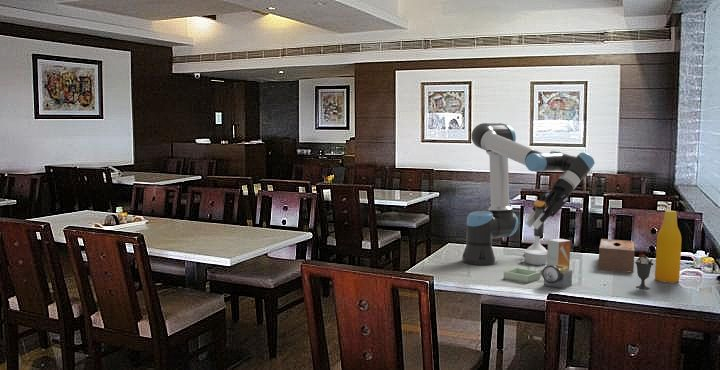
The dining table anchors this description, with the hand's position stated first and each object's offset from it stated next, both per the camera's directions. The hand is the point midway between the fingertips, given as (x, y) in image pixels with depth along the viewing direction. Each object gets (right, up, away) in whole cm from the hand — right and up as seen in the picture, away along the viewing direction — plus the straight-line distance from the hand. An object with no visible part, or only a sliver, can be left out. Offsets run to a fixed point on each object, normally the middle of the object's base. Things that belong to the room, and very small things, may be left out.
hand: (531, 225), depth 251 cm
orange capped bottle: (+3, -4, +2) cm, 6 cm away
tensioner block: (+9, -24, -3) cm, 25 cm away
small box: (+20, -21, +28) cm, 40 cm away
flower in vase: (+17, -19, +55) cm, 61 cm away
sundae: (+43, -24, -5) cm, 49 cm away
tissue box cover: (+49, -21, +37) cm, 65 cm away
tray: (-2, -23, +8) cm, 24 cm away
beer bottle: (+59, -23, +9) cm, 64 cm away
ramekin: (+13, -20, +40) cm, 47 cm away
